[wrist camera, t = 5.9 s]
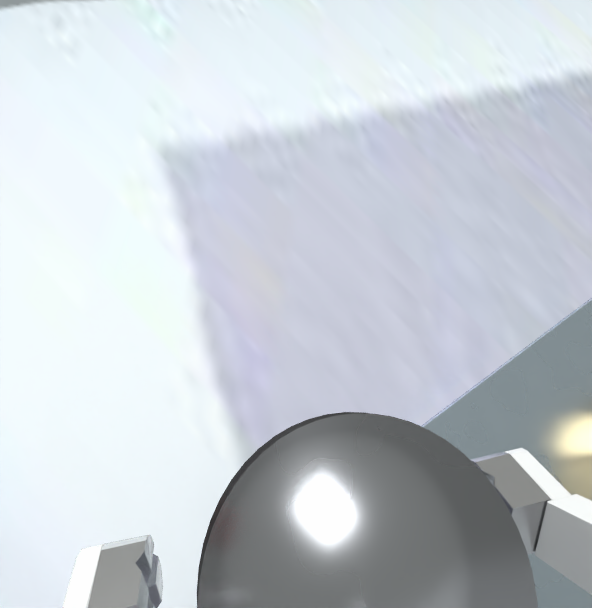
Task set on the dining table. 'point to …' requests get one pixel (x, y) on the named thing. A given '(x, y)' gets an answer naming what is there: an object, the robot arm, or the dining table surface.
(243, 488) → the cylinder
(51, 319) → the dining table surface
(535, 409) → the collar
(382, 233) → the dining table surface
